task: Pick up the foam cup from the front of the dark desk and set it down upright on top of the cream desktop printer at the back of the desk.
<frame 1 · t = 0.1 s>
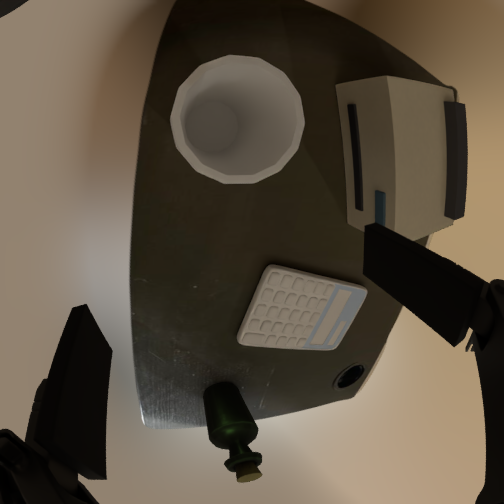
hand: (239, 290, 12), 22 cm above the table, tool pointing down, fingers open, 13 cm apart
potion bottle: (220, 392, 45), on the table
printer: (380, 151, 36), on the table
foam cup: (210, 127, 29), on the table
calculator: (304, 310, 43), on the table
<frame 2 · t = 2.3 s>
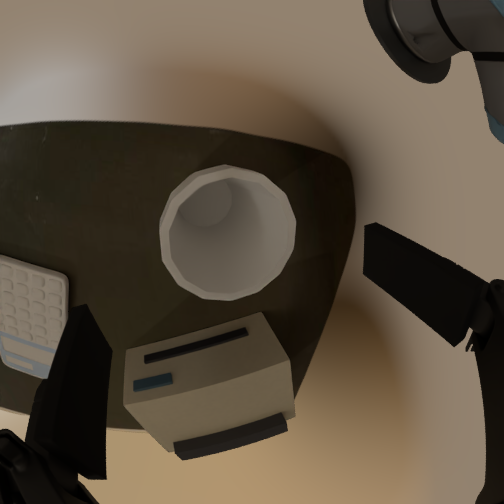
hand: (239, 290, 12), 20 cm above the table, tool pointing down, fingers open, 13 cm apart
printer: (205, 365, 39), on the table
foam cup: (204, 198, 30), on the table
calculator: (30, 322, 28), on the table
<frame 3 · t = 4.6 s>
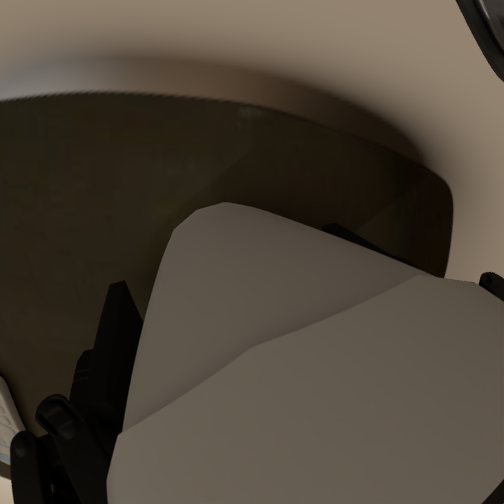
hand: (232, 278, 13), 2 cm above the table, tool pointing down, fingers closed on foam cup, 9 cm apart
foam cup: (224, 261, 14), on the table, touching gripper
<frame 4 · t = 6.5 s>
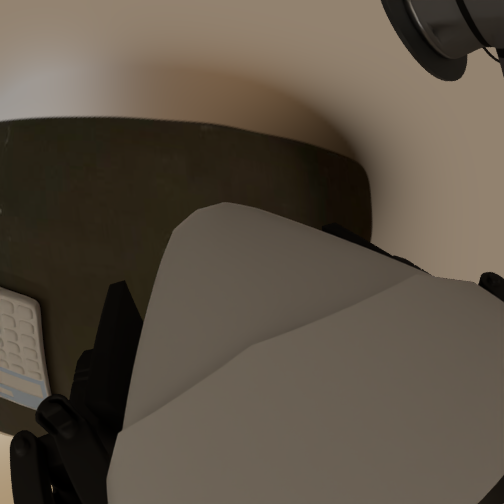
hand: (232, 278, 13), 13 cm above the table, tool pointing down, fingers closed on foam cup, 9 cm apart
foam cup: (224, 261, 14), point 11 cm above the table, touching gripper
calculator: (5, 348, 22), on the table
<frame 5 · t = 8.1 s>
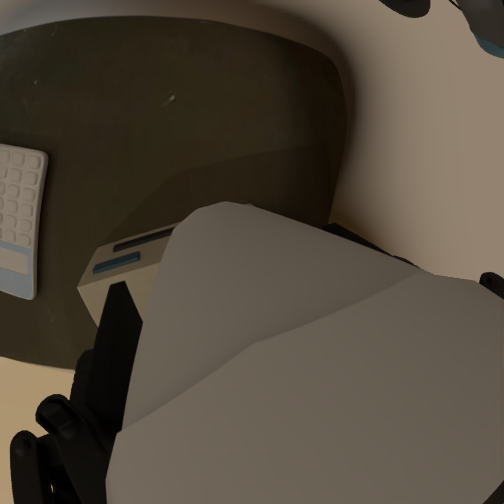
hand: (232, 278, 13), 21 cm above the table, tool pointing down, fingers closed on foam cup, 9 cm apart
printer: (186, 274, 35), on the table
foam cup: (224, 261, 14), point 20 cm above the table, touching gripper
calculator: (3, 220, 24), on the table
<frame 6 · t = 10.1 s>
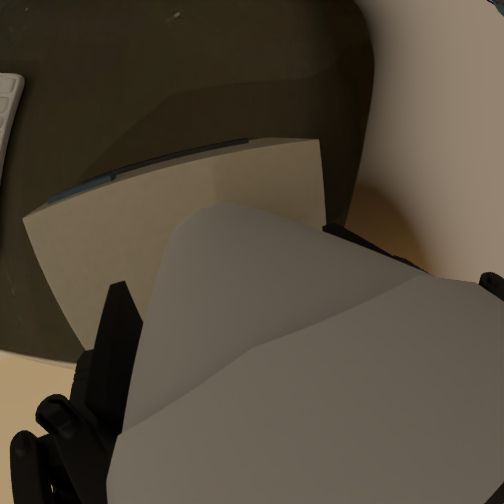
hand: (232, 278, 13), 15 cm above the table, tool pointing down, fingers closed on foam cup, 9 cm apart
printer: (181, 228, 26), on the table
foam cup: (224, 261, 14), point 13 cm above the table, touching gripper
when the fingers open (12 cm above the table, at t = 11.6 s): foam cup stays where it is, resting on printer.
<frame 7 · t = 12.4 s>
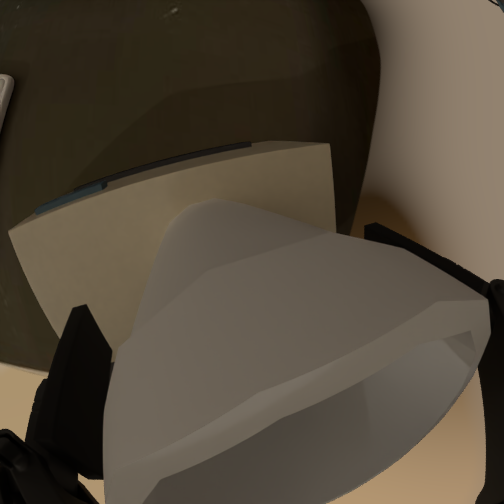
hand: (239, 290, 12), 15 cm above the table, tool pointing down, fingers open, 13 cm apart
printer: (179, 237, 25), on the table
foam cup: (214, 251, 16), point 10 cm above the table, touching printer
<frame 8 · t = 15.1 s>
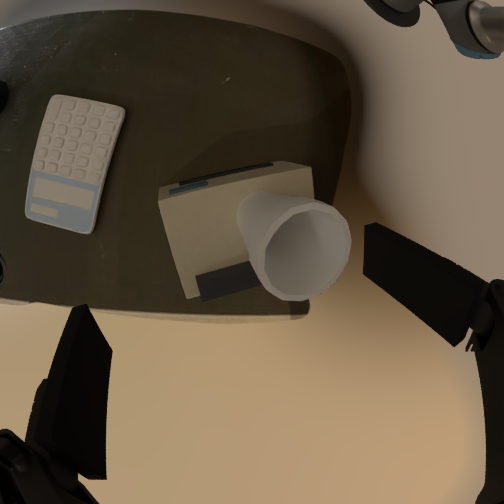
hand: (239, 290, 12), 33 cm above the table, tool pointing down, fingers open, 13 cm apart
printer: (230, 213, 45), on the table
foam cup: (259, 215, 36), point 10 cm above the table, touching printer
calculator: (70, 163, 34), on the table
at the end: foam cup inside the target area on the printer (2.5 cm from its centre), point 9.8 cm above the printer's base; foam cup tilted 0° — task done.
